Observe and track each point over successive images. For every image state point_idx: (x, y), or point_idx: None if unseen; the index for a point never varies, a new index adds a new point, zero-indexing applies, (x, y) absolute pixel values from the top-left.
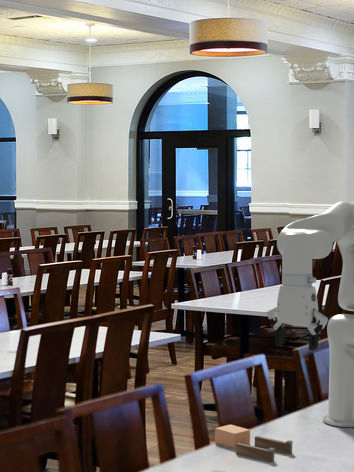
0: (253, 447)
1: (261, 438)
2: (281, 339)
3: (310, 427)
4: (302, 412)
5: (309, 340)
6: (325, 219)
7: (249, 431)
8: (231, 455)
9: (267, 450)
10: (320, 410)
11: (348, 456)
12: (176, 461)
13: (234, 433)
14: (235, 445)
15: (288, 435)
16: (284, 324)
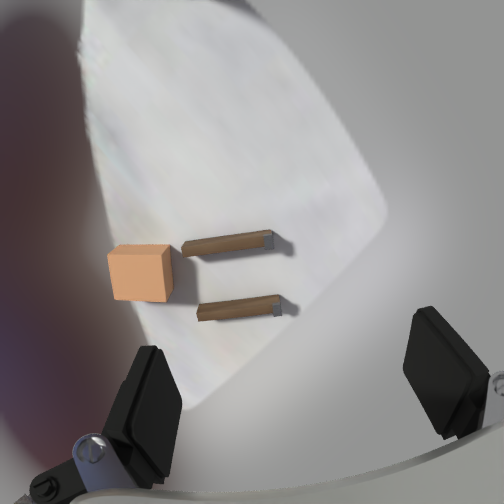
0: (237, 315)
1: (200, 254)
2: (166, 402)
3: (165, 37)
4: None
5: (429, 411)
6: None
7: (162, 255)
8: None
9: (269, 311)
10: None
11: (358, 154)
12: None
13: (164, 301)
14: (171, 288)
15: (172, 121)
16: (135, 483)
